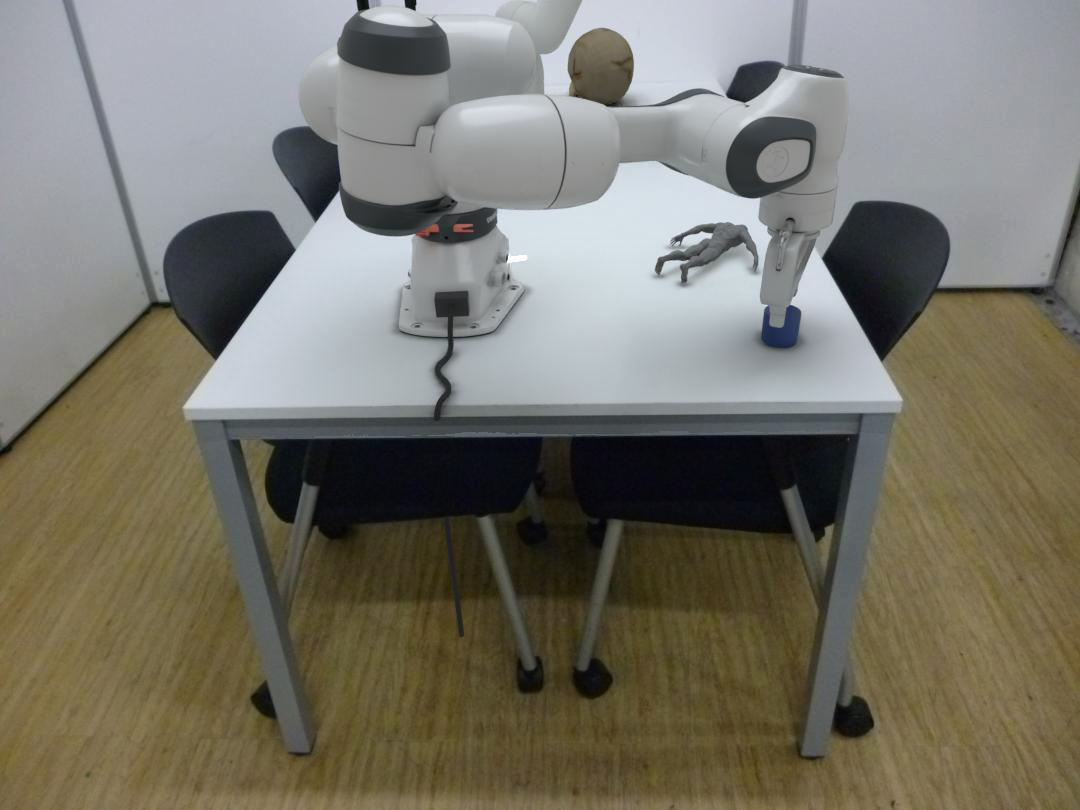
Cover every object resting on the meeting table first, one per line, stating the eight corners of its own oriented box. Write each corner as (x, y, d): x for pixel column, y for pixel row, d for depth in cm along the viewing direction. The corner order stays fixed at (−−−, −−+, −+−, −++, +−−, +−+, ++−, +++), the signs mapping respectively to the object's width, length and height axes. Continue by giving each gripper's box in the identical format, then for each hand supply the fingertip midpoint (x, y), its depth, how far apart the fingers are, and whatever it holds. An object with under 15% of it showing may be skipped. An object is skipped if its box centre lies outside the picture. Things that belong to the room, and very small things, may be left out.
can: (791, 330, 114) (795, 302, 111) (802, 346, 110) (806, 318, 107) (756, 332, 114) (760, 304, 111) (766, 348, 110) (769, 320, 107)
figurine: (714, 298, 124) (788, 252, 135) (715, 272, 122) (790, 227, 132) (628, 269, 134) (703, 228, 145) (628, 245, 132) (704, 205, 143)
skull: (601, 74, 245) (623, 3, 222) (627, 132, 237) (652, 65, 215) (550, 80, 240) (567, 8, 218) (575, 140, 233) (594, 71, 210)
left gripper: (810, 239, 92) (795, 348, 100) (834, 184, 108) (819, 282, 116) (753, 232, 95) (742, 340, 102) (784, 180, 110) (773, 276, 118)
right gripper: (408, -93, 157) (418, 7, 167) (322, -87, 149) (338, 17, 158) (427, -93, 152) (437, 10, 161) (339, -87, 144) (355, 21, 153)
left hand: (783, 309), depth 109 cm, fingers open, 8 cm apart
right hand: (388, 13), depth 160 cm, fingers open, 9 cm apart
